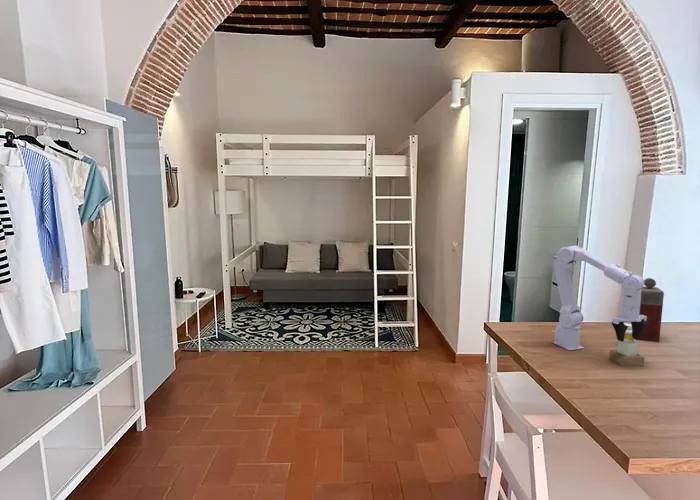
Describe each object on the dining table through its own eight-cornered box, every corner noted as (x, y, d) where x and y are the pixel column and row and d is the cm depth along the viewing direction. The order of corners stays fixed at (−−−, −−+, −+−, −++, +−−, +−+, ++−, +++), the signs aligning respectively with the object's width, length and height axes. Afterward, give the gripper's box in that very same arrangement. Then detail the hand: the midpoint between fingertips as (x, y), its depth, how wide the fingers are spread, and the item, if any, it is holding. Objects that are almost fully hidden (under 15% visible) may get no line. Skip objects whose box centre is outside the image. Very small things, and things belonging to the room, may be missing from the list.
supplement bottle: (621, 342, 178) (623, 321, 177) (635, 346, 173) (636, 325, 172) (615, 345, 175) (617, 324, 174) (629, 348, 170) (631, 327, 169)
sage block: (617, 352, 158) (618, 340, 157) (626, 351, 159) (627, 339, 158) (627, 356, 153) (628, 344, 153) (636, 355, 155) (637, 342, 154)
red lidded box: (652, 334, 188) (657, 276, 184) (659, 342, 178) (665, 281, 174) (629, 332, 191) (634, 274, 188) (635, 339, 181) (640, 279, 178)
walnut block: (609, 359, 161) (609, 349, 160) (628, 359, 161) (629, 349, 160) (623, 367, 153) (624, 357, 152) (643, 367, 153) (644, 357, 152)
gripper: (625, 310, 148) (622, 345, 150) (655, 307, 152) (652, 341, 154) (608, 305, 155) (606, 338, 157) (638, 302, 158) (635, 335, 160)
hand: (627, 339), depth 155 cm, fingers open, 7 cm apart
